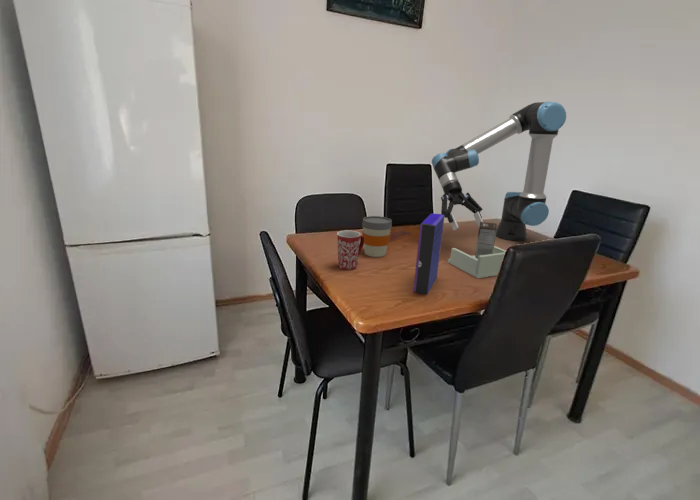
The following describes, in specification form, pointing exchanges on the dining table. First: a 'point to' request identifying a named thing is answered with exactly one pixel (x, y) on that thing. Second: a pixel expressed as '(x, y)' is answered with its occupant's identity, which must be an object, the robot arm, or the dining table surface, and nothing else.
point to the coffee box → (485, 239)
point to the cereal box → (428, 253)
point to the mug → (349, 248)
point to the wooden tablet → (398, 235)
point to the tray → (478, 262)
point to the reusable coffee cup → (376, 235)
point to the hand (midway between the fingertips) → (469, 227)
